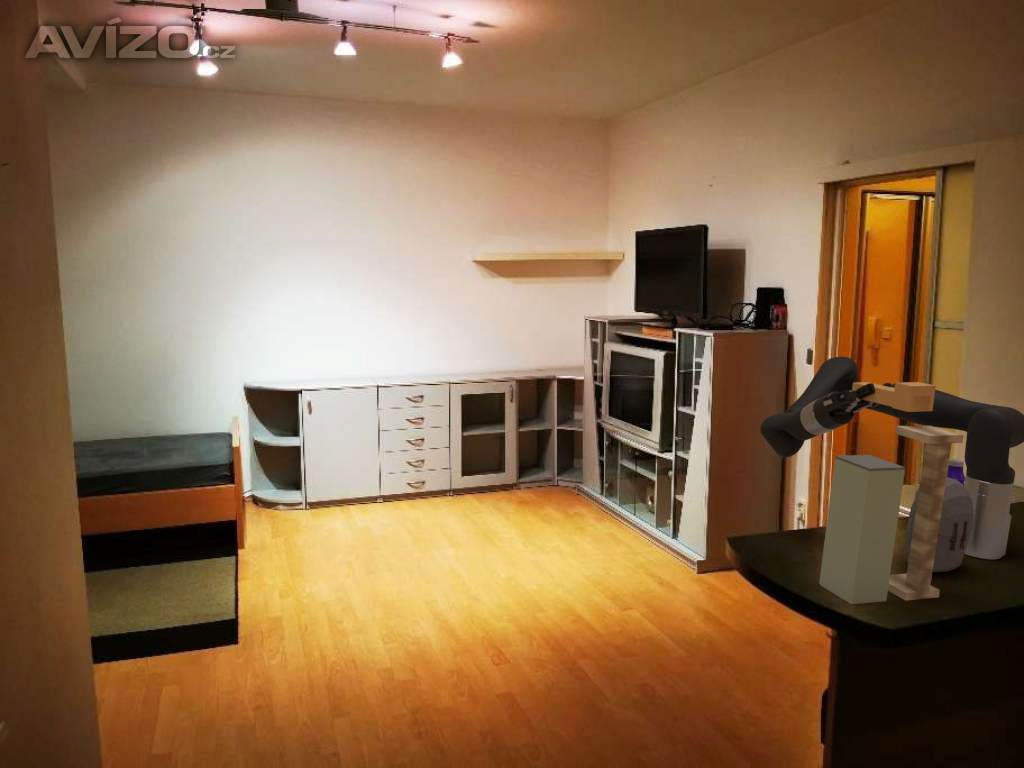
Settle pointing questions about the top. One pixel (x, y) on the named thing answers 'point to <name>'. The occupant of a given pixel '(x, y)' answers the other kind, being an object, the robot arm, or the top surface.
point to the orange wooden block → (903, 395)
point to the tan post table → (925, 512)
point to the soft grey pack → (948, 526)
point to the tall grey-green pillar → (861, 528)
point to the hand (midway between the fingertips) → (881, 387)
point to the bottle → (956, 470)
